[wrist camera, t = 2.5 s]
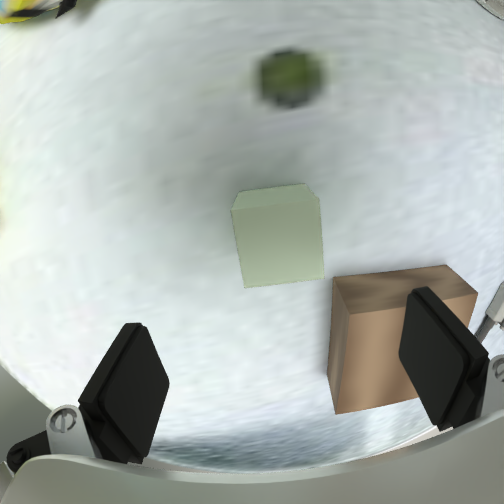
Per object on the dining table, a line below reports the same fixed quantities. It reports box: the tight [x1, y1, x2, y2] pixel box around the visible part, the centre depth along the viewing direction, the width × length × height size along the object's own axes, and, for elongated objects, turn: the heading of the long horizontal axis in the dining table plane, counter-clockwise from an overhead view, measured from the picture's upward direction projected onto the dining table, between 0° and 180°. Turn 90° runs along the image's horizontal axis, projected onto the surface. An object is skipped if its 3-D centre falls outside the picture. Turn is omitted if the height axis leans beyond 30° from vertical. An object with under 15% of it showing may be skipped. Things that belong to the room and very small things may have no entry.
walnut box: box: [327, 265, 478, 415], centre depth 23 cm, size 12×12×6 cm
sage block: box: [231, 184, 324, 288], centre depth 20 cm, size 5×5×6 cm
